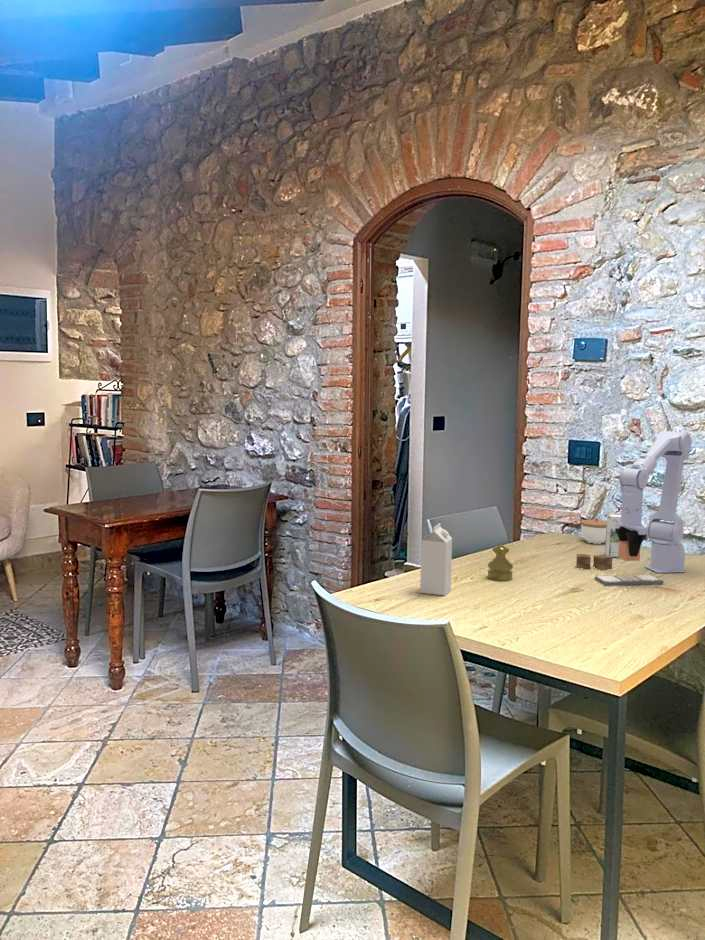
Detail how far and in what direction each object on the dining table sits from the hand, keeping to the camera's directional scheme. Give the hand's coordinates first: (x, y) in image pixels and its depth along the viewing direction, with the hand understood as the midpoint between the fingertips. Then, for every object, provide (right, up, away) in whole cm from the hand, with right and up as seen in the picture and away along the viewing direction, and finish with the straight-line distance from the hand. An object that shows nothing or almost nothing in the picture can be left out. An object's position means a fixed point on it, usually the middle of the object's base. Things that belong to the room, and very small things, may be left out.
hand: (629, 554), depth 228 cm
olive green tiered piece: (-38, -8, +4) cm, 39 cm away
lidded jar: (+8, -2, +57) cm, 57 cm away
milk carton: (-59, -9, -12) cm, 61 cm away
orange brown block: (0, -2, 0) cm, 2 cm away
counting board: (0, -8, +1) cm, 8 cm away
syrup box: (+8, -5, +35) cm, 36 cm away
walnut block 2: (-2, -7, +17) cm, 18 cm away
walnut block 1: (-8, -6, +18) cm, 21 cm away
